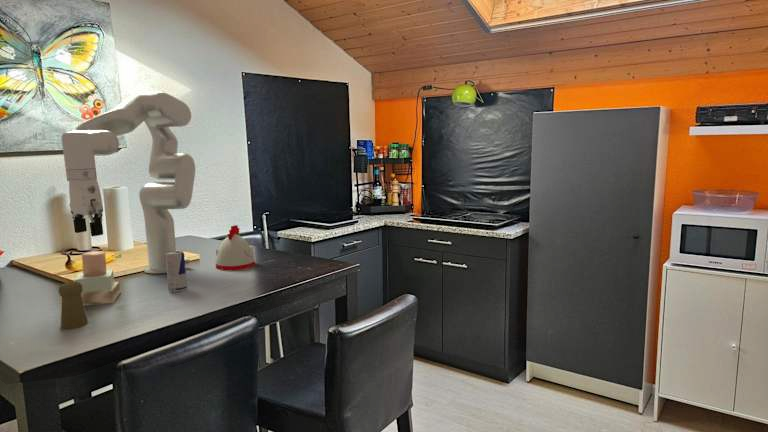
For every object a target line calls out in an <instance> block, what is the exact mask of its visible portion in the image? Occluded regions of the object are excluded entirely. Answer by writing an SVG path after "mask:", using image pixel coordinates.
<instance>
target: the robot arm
mask: <svg viewBox="0 0 768 432" xmlns="http://www.w3.org/2000/svg"><path fill="white" fill-rule="evenodd" d="M191 119H192V112H191V108H190V107H189V106H188V105H187V104H186V103H185V102H184V101H182V100H180V99H179V98H176V97H174V96H173V95H170V94H169V93H166V92H163V91H157V90H156V91H139V92H134V93H132V94H131V95H130V96H128V97H127V98H125V99H124V100H123V101H122V102H120V103H119V104H117V106H115V107H114V108H113V109H111V110H109V111H105V112H104V113H102V114H99V115H96V116H94V117H92V118H90V119H86V120H85V121H83V122H81V123H79V124H78V125H77V126H76V127H74V128H73V129H72V130H71V131H65V132H63V133H62V135H61V144H62V153H63V159H64V167H65V174H66V175H65V177H66V181H67V182H68V194H69V207H70V209H71V210H70V213H71V214H72V216H71V217H72V218H71V219H72V221H73V229H74V232H75V234H79V233H84V232H87V231H88V230H87V228H88V227H87V221H86V217H85V216H88V219H89V221H90V222H89V229H90V230H89V231H90V236H91V237H98V236H103V235H104V227H103V215H104V214H103V212H104V205H103V198H102V194H101V189H100V185H99V182H98V177H97V166H96V159H95V156H96V157H103V156H104V157H105V156H110V155H113V154H115V153H117V151H118V149H119V147H120V141H119V138H118V137H119V136H122V135H126V134H130V133H131V132H133V131H135V130H136V129H137V128H138V127H139V126H140V125H142V124H143V122H144V123H145V125H146V127H147V129H148V130H149V132H150V135H151V138H152V139H151V140H152V143H151V144H152V145H151V152H150V157H149V164H148V173H149V175H150V177H151V178H152V179H155V180H161V182H160V181H153V182H148V183H146V184H144V185H143V186H141V188H140V190H139V195H138V196H139V202H140V205H141V208H142V211H143V216H144V217H143V218H144V224H145V225H144V226H145V228H144V229H145V238H146V241H145V242H146V251H147V262H148V263H147V264H148V266H149V267H147V266H145V267H146V268H145V267H144V269H143V270H144V273H146V274H167V267H166V253H167V252H170V251H177V245H176V244H177V243H176V235H175V234H176V232H175V221H174V218H173V216H172V213H170V210H184V209H186V208H188V207H189V206H190V204H191V203H192V197H193V192H194V184H195V177H196V164H195V160H194V158H193V157H192V156H191V155H190V154H188V153H184V152H178V146H179V142H178V139H177V136H175V134H174V133H173V131H172V130H171V129H170V128H173V127H175V128H176V127H178V128H179V127H181V128H182V127H185V126H188V124H189V123H190V122H191ZM163 180H165V181H166V182H165V181H163ZM167 181H172V182H167ZM186 264H191V259H190V257H185V265H186Z"/></svg>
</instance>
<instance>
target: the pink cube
mask: <svg viewBox="0 0 768 432" xmlns="http://www.w3.org/2000/svg"><path fill="white" fill-rule="evenodd" d="M81 259H82V263H81V264H82V272H83V275H84V276H99V275H103V274H106V270H107V259H106V251H87V252H83V253H81Z"/></svg>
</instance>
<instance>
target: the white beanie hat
mask: <svg viewBox="0 0 768 432" xmlns="http://www.w3.org/2000/svg"><path fill="white" fill-rule="evenodd" d="M228 232H229V233H227V237H225V238H224V239H223V240H222V242H221V243H220V246H219V247H218V248H217V249H216V251H215V255H216V257H215V269H217V270H219V271H227V270H231V271H240V270H241V269H242V270H245V269H246V268H247V269H250V267H251V268H252V266H253V267H254V266H256V265H255V264H256V263H255V262H256V260H255V256H254V248H253V246H250V244H249V243H248V241H247V240H246V239H245V238H244V237H242V236H241V235H239V234H240V227H239V226H238V224H235V225H231V226H230V229H229V230H228ZM247 269H246V270H247Z"/></svg>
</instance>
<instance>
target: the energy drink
mask: <svg viewBox="0 0 768 432" xmlns="http://www.w3.org/2000/svg"><path fill="white" fill-rule="evenodd" d="M185 258H186V257H185V253H184V250H176V251H170V252H167V253H166V267H167V273H166V277H167V287H168V288H167V289H168V290H167V291H168V292H170V293H180V292H184V291H186V290H187V288H188V285H187V283H188V282H187V275H186V274H187V273H186V264H185Z"/></svg>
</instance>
